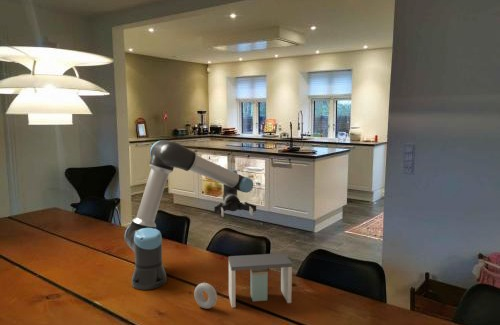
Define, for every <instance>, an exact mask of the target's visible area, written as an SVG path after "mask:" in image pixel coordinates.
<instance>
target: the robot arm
mask: <svg viewBox="0 0 500 325" xmlns="http://www.w3.org/2000/svg"><path fill="white" fill-rule="evenodd" d="M149 156H150V160H149V164H148V165H149V167H150V171H149V174H148V178H147V181H146V184H145V187H144V191H143V195H142V198H141V200H140V201H141V202H140V204H139V207H138V210H137V214H136V217H134V218H132V220H131V222H130V225H129V226H128V227H127V228H126V229H125V233H124V241H125V243H126V245H127V247H129V248H130V249H131V250H132V251H133V253H134V261H135V262H134V265H135V266H134V267H135V268H134V270H133V274H132V277H131V286H132V287H133V288H135V289H137V290H143V291H145V290H146V291H147V290H154V289H158V288H160V287H163V286H164V285H165V284H166V283H167V281H168V280H167V278H168V277H167V273H166V270H165V267H164V265H163V237H162V233H161V231H160V230H158V229H157V224H156V222H155V220H156V217H157V214H158V210H159V207H160V204H161V200H162V196H163V193H164V190H165V187H166V184H167V182H168V178H169V174H171V173H172V172H174V169H175V168H176V169H179V170H180V169H181V170H184V171H186V172H189V171H191V172H194V173H196V174H198V175H201V176H204V177H206V178H209V179H210V180H213V181H215V182H217V183H220V184H223V190H222V191H223V192H222V194H223V195H222V200H223V202H220V203H219V204H217V205H216V206H213V207H214V213H217V214H218V215H221V217H223V218H224V216H225V214H224V213H225V211H226V212H227V211H230V212H237V211H238V210H239V211H248V212H249V214H250V215H251V216H254V213H255V212H257V205H255V204H251V203H249V202H247V201H244V203H243V202H241V200H240V199H239V196H238V192H241V193H245V194H246V193H250V192H251V191H252V190H253V188H254V181H253V180H252V179H251V178H249V177H247V176H244V175H241V174H239V173H238V171H237V170H236V169H229V168H226V167H223V166H221V165H219V164H217V163H214V162H212V161H210V160H208V159H205V158H203V157H201V156H199V155H197V153H196V151H193V150H191V149H189V148H188V147H186V146H184V145H182V144H180V143H178V142H176V141H171V140H166V139H162V140H158V141H156V142H154V143H153V145H152V146H151V147H150V152H149Z"/></svg>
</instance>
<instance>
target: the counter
mask: <svg viewBox="0 0 500 325" xmlns="http://www.w3.org/2000/svg"><path fill="white" fill-rule="evenodd" d="M279 268H280V269H281V270H280V291H281V293H282V296H283V298H284V299H285V301H286V303H287V304H291V303H292V287H293V285H292V284H293V283H292V282H293V281H292V280H293V278H292V277H293V275H292V274H293V262H292V260H290V258H289V257H288V255H287V254H286V253H285V252H283V253H282V252H281V253H280V252H279V253H263V254H246V255H230V256H229V255H228V298H229V303H230V305H231V306H230V307H231V308H236V271H248V270H249V271H250V270H252V269H267V270H268V269H279Z"/></svg>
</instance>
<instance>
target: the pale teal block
mask: <svg viewBox="0 0 500 325" xmlns="http://www.w3.org/2000/svg"><path fill="white" fill-rule="evenodd" d="M249 271H250V273H249V274H250V280H249V283H250V285H249V286H250V291H249V293H250V297H251V300H252V302H263V301H268V281H269V280H268V275H269V270H268V269H252V270H249Z"/></svg>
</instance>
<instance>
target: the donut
mask: <svg viewBox="0 0 500 325" xmlns="http://www.w3.org/2000/svg"><path fill="white" fill-rule="evenodd" d="M204 293H206V295H207V299H206V298H205V296H204ZM193 295H194V299H195V302H196V303H197V305H198V306H199V307H200V308H203V309H205V310H206V309H208V310H209V309H211V308H213V307H214V306H215V305H216V303H217V300H218V294H217V291H216V289H215V288H214V287H213V285H211V284H210V283H207V282H201V283H198V285H196V286H195V288H194V291H193Z"/></svg>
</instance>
